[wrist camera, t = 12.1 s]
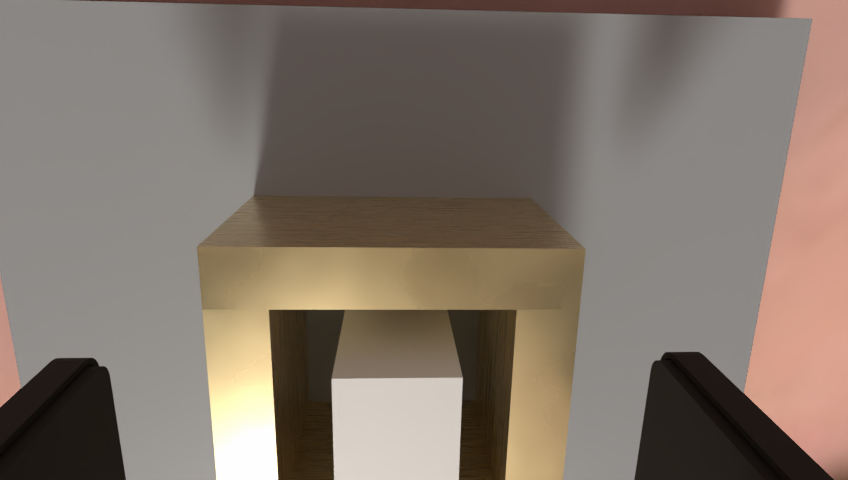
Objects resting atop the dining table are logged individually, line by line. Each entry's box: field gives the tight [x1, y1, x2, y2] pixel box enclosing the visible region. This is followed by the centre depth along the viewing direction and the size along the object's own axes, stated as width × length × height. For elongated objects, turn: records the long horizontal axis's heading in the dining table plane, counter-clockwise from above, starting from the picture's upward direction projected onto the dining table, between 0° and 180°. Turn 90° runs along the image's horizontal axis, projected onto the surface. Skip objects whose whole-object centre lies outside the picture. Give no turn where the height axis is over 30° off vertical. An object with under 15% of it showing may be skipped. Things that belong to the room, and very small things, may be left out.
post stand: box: [0, 0, 812, 480], centre depth 15 cm, size 16×20×7 cm
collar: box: [197, 195, 586, 480], centre depth 14 cm, size 7×7×4 cm
